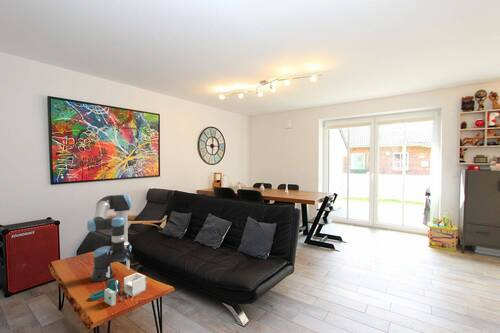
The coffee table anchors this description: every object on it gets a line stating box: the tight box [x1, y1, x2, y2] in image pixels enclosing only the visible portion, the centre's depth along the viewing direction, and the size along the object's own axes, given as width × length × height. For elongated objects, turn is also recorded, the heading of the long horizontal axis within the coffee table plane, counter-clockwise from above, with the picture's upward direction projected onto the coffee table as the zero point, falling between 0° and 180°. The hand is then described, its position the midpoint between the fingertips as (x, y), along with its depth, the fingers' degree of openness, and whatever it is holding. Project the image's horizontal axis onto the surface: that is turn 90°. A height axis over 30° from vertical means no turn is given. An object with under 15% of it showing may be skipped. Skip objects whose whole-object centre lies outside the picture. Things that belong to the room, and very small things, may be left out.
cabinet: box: [123, 272, 147, 297], centre depth 174 cm, size 11×10×10 cm
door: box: [103, 288, 117, 307], centre depth 159 cm, size 9×4×8 cm, turn 57°
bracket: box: [89, 278, 122, 302], centre depth 169 cm, size 18×7×8 cm, turn 142°
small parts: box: [115, 279, 130, 302], centre depth 166 cm, size 11×5×10 cm, turn 57°
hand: (118, 272), depth 162 cm, fingers open, 13 cm apart
